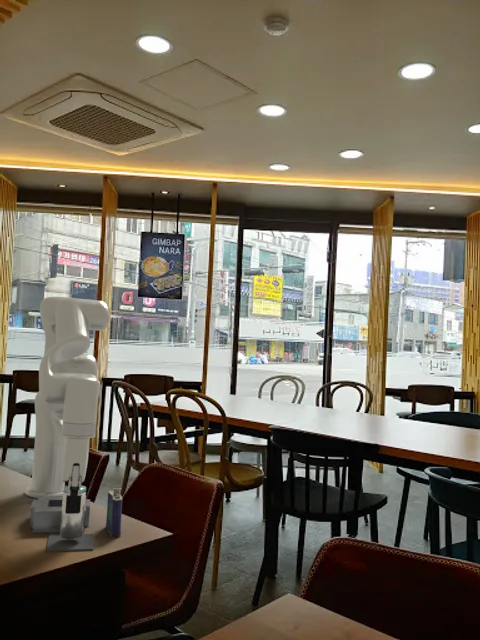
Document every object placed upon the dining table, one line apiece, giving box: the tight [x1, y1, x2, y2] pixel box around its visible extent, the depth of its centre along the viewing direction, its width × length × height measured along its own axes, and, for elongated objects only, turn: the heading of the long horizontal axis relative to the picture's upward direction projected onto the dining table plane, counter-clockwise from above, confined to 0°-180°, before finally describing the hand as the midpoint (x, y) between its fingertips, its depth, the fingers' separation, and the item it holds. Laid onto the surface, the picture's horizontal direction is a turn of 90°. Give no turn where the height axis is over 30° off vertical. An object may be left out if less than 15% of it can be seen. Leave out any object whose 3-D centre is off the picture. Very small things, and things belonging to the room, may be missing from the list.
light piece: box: [59, 484, 87, 539], centre depth 128 cm, size 5×5×11 cm
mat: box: [45, 533, 94, 553], centre depth 128 cm, size 10×10×1 cm
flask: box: [105, 487, 123, 539], centre depth 138 cm, size 9×3×11 cm, turn 22°
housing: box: [29, 495, 91, 534], centre depth 142 cm, size 14×14×5 cm
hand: (73, 508), depth 128 cm, fingers closed on light piece, 5 cm apart
